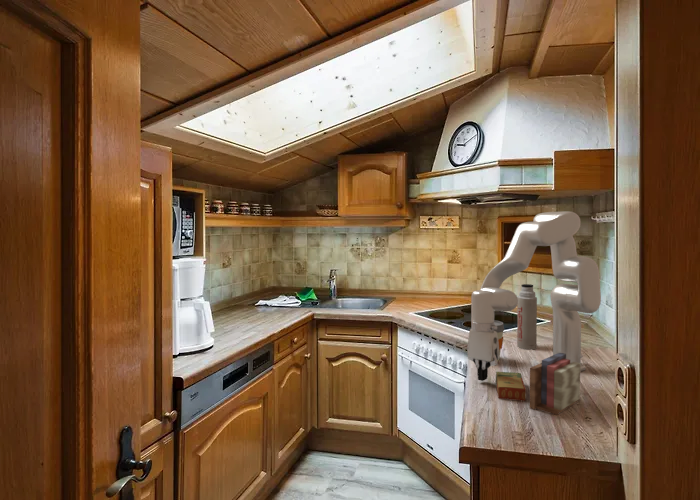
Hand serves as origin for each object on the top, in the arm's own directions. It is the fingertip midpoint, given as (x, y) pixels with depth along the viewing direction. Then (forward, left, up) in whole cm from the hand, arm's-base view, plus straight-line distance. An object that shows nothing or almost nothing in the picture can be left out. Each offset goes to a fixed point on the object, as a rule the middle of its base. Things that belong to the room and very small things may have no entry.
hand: (482, 379), depth 153 cm
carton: (0, +10, -2) cm, 10 cm away
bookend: (0, +25, -1) cm, 25 cm away
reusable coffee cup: (-25, -14, -1) cm, 29 cm away
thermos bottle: (-54, -12, -1) cm, 55 cm away
